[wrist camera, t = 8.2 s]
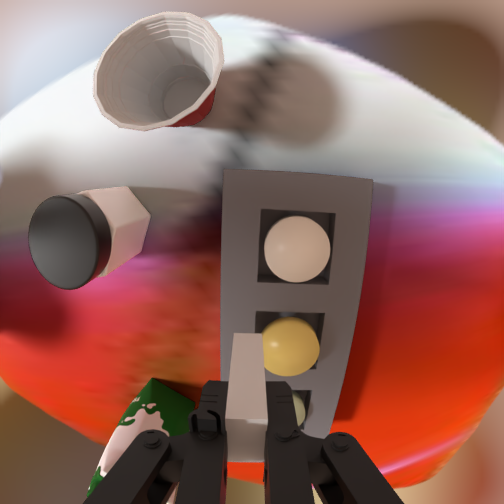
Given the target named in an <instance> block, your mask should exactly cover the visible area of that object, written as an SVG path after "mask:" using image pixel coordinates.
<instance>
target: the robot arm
mask: <svg viewBox="0 0 504 504" xmlns="http://www.w3.org/2000/svg"><path fill="white" fill-rule="evenodd" d="M188 424H189V430H190V431H189V432H187V433H185V434H182V435H177V436H169V437H168V436H167V435H166V433H164V432H162V431H160V430H155V429H151V430H145V431H143V432H141V433H140V434H138V435H137V436H136V438H135V439H134V440H133V441H132V443H131V444H130V445H129V446H128V448H127V449H126V450H125V452H124V453H123V454H122V455H121V457H120V458H119V459H118V460H117V462H116V463H115V464H114V465H113V467H112V468H111V469H110V470H109V472H108V473H107V474H106V475H105V477H104V478H103V479H102V480H101V482H100V483H99V484H98V485H97V487H96V488H95V489H94V490H93V492H92V493H91V494H90V495H89V497H88V498H87V499H86V500H85V501H84V503H83V504H166V503H167V502H168V500H169V498H170V496H171V495H172V493H173V491H174V489H175V488H176V486H177V484H178V482H179V487H178V492H177V497H176V502H175V504H225V501H226V485H227V462H264V465H265V466H264V477H263V482H264V487H265V488H264V489H265V504H315V503H314V496H313V491H312V484H313V486H314V488H315V490H316V492H317V493H318V495H319V497H320V499H321V501H322V503H323V504H404V503H403V502H402V500H401V499H400V498H399V496H398V495H397V494H396V492H395V491H394V490H393V488H392V487H391V486H390V484H389V483H388V482H387V480H386V479H385V478H384V476H383V475H382V474H381V472H380V471H379V470H378V468H377V467H376V466H375V464H374V463H373V462H372V460H371V459H370V458H369V456H368V455H367V454H366V452H365V451H364V450H363V448H362V447H361V445H360V444H359V443H358V441H357V440H356V439H355V438H354V437H353V436H352V435H350V434H347V433H344V432H335V433H331V434H329V435H327V436H326V437H325V439H322V438H316V437H312V436H309V435H307V434H305V433H303V432H302V431H301V430H300V428H299V426H298V423H297V417H296V411H295V406H294V400H293V395H292V389H291V387H290V386H289V385H288V383H287V382H286V381H265V369H264V354H263V339H262V334H259V333H234V337H233V346H232V356H231V365H230V375H229V381H211V380H209V381H208V382H207V383H206V384H205V385H204V386H203V389H202V393H201V398H200V403H199V407H198V409H196V410H194V411H192V412H191V413H190V414H189V416H188ZM311 483H312V484H311Z"/></svg>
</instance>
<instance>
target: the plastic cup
mask: <svg viewBox="0 0 504 504" xmlns="http://www.w3.org/2000/svg"><path fill="white" fill-rule="evenodd" d="M223 64H224V54H223V47H222V39H221V37H220V36H219V35H218V33H217V32H216V31H215V29H214V28H213V27H212V26H211V24H210V23H209V22H208V21H206V20H204V19H202V18H199V17H197V16H195V15H193V14H190V13H188V12H187V13H186V12H162V13H158V14H155V15H151V16H148V17H145V18H142V19H139V20H138V21H136V22H135V23H133V24H132V25H130V26H129V27H127V28H126V29H124V30H123V31H121V32H120V33H119V34H118V35H117V36H116V37H115V38H114V39H113V40H112V42H111V43H110V44H109V45H108V46H107V47H106V49H105V50H104V51H103V53H102V55H101V57H100V60H99V62H98V64H97V67H96V69H95V72H94V78H93V97H94V99H95V101H96V103H97V105H98V108H99V110H100V112H101V114H102V115H103V116H104V117H106V118H107V119H108V120H110V121H111V122H112V123H114V124H115V125H117V126H118V127H120V128H127V129H133V130H140V131H147V130H151V129H156V128H160V127H164V126H165V127H180V126H182V127H184V126H189V125H194V124H196V123H198V122H199V121H201V120H203V119H204V118H205V117H206V115H207V114H208V113H209V112H210V110H211V108H212V104H213V101H214V95H215V87H216V84H217V81H218V78H219V75H220V72H221V69H222V66H223Z"/></svg>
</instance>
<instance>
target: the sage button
mask: <svg viewBox="0 0 504 504" xmlns="http://www.w3.org/2000/svg"><path fill="white" fill-rule="evenodd" d="M292 395H293V400H294V406H295V411H296V417H297V423H298V426H299V425H301V423H302V422H303V421H304V419H305V408H304V403H303V399H302V397H301V396H300V395H299V394H298V393H297V392H295V391H293V390H292Z"/></svg>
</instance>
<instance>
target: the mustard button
mask: <svg viewBox="0 0 504 504" xmlns="http://www.w3.org/2000/svg"><path fill="white" fill-rule="evenodd" d="M261 334H262V339H263V354H264V367H265V368H266V369H267V370H268V371H270V372H271V373H273V374H276V375H279V376H295V375H299V374H301V373H303V372H305V371H307V370H308V369H310V368H311V367H312V366H313V365H314V363H315V362H316V360H317V359H318V356H319V351H320V347H319V342H318V339H317V336H316V333H315V331H314V329H313V327H312V326H311V325H310V324H309V323H308V322H306V321H305V320H303V319H300V318H296V317H283V318H279V319H276V320H274V321H272V322H271V323H269V324H268V325H267V326H266V327H265V328H264V330H263V331H262V333H261Z"/></svg>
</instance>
